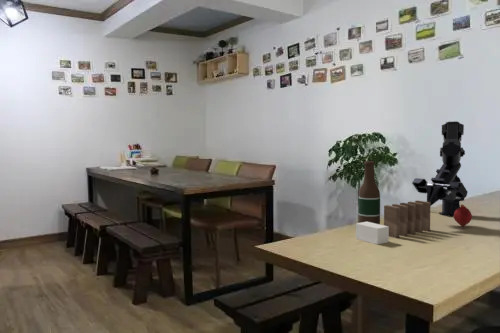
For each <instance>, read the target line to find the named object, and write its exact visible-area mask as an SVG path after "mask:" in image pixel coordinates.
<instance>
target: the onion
mask: <svg viewBox="0 0 500 333" xmlns="http://www.w3.org/2000/svg"><path fill="white" fill-rule="evenodd" d="M472 218H473V216H472V212H471V210H470V209H469V208H467V207H466V206H465V205H464V204H461V203H460V207H459V208H458V209H457V210H456V211H455V212H454V216H453V219H454V221H455V222H456V223H457V224H458V225H459V226H460V227H465V226H467V225H469V223H470V222H471V221H472Z"/></svg>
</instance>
